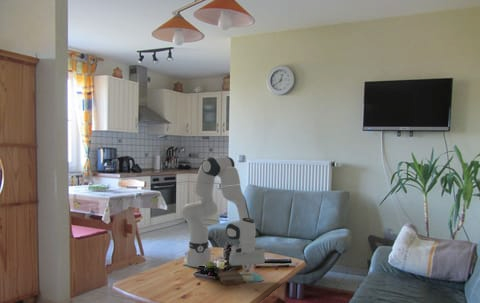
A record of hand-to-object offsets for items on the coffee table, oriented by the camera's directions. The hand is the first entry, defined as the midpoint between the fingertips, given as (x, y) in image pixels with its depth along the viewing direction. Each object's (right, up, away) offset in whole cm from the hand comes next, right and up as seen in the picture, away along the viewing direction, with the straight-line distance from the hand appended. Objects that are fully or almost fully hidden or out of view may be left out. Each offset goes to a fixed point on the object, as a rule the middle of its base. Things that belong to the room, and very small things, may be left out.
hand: (246, 272), depth 211 cm
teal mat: (+3, -4, +1) cm, 5 cm away
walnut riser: (-9, -4, -3) cm, 10 cm away
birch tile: (0, -3, 0) cm, 3 cm away
